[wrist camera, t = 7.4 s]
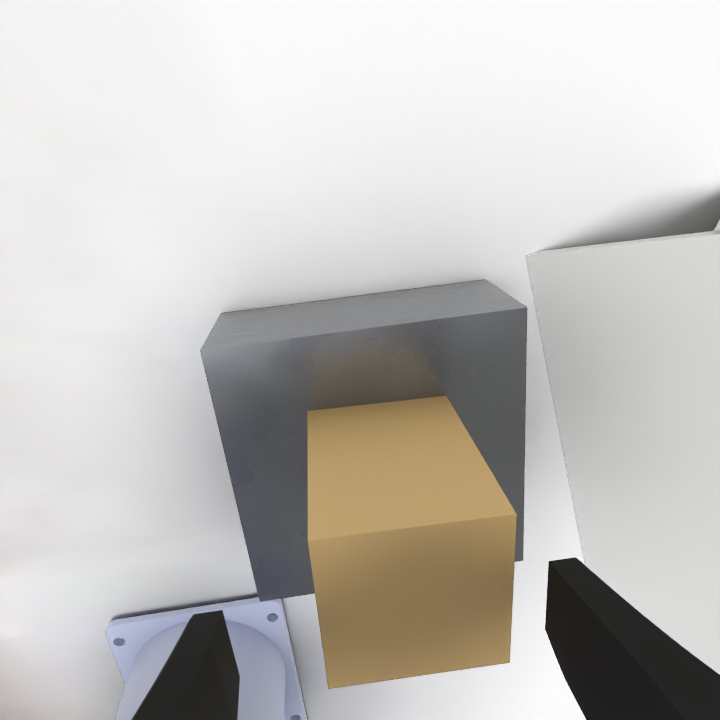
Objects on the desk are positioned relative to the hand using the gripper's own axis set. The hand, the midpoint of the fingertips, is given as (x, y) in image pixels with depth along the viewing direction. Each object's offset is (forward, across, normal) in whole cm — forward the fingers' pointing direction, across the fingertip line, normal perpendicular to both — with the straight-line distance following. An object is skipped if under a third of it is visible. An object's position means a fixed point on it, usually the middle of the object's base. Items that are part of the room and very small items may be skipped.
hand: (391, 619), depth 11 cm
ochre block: (+6, -1, 0) cm, 6 cm away
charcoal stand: (+10, -1, 0) cm, 10 cm away
